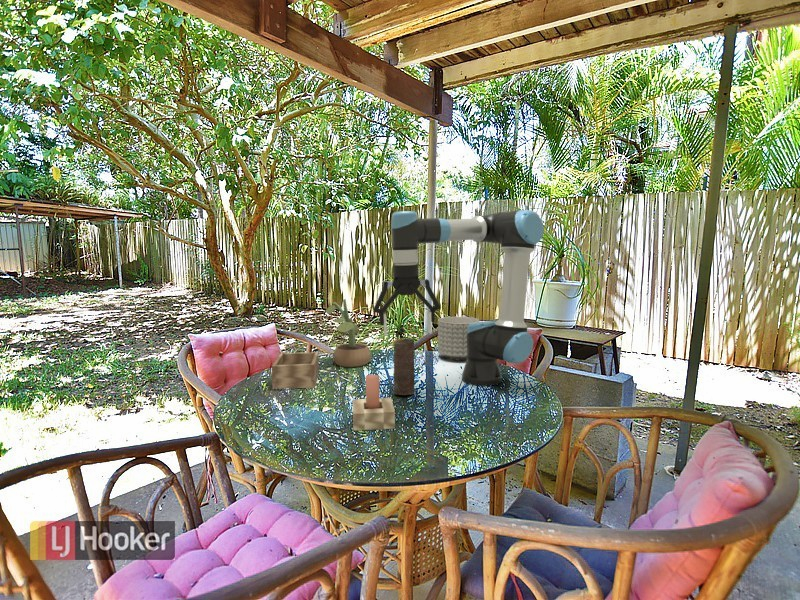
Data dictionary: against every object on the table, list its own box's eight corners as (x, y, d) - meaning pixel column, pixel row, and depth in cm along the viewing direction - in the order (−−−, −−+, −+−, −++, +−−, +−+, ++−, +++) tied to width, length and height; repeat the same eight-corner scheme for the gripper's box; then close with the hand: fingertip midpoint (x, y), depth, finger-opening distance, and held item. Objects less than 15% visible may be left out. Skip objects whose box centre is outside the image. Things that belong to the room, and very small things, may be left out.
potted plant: (340, 357, 212) (338, 294, 208) (376, 359, 207) (375, 295, 204) (319, 370, 191) (317, 300, 187) (358, 373, 186) (357, 301, 182)
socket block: (391, 413, 141) (391, 397, 141) (394, 428, 129) (394, 411, 129) (353, 414, 140) (353, 399, 139) (353, 430, 128) (352, 413, 127)
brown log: (412, 398, 154) (412, 342, 152) (391, 397, 156) (391, 341, 153) (416, 391, 162) (415, 337, 159) (396, 390, 163) (395, 336, 161)
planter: (436, 362, 201) (436, 322, 199) (439, 352, 220) (439, 316, 218) (478, 364, 198) (479, 323, 196) (478, 353, 217) (479, 316, 215)
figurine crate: (318, 373, 186) (318, 352, 184) (314, 388, 166) (314, 364, 165) (281, 374, 184) (280, 353, 183) (272, 389, 165) (271, 366, 164)
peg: (379, 418, 137) (378, 374, 135) (380, 423, 133) (379, 378, 131) (366, 419, 136) (365, 374, 135) (366, 424, 132) (365, 378, 131)
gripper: (444, 261, 138) (445, 329, 141) (363, 265, 136) (366, 333, 139) (449, 263, 130) (450, 334, 133) (363, 266, 128) (367, 338, 131)
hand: (407, 333), depth 136 cm, fingers open, 13 cm apart
